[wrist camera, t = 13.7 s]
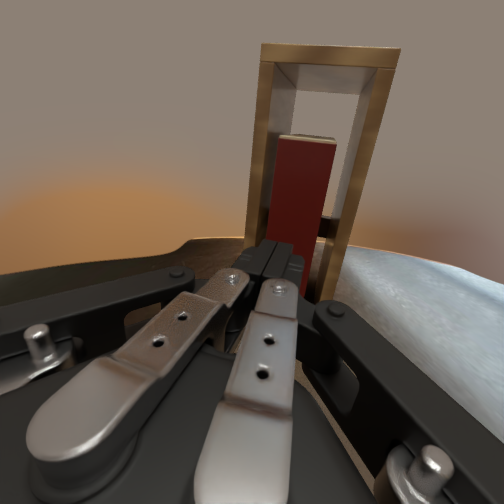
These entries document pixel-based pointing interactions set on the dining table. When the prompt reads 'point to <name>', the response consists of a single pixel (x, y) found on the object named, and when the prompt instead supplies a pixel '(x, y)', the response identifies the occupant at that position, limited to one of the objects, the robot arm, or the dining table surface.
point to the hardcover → (300, 193)
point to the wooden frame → (279, 123)
